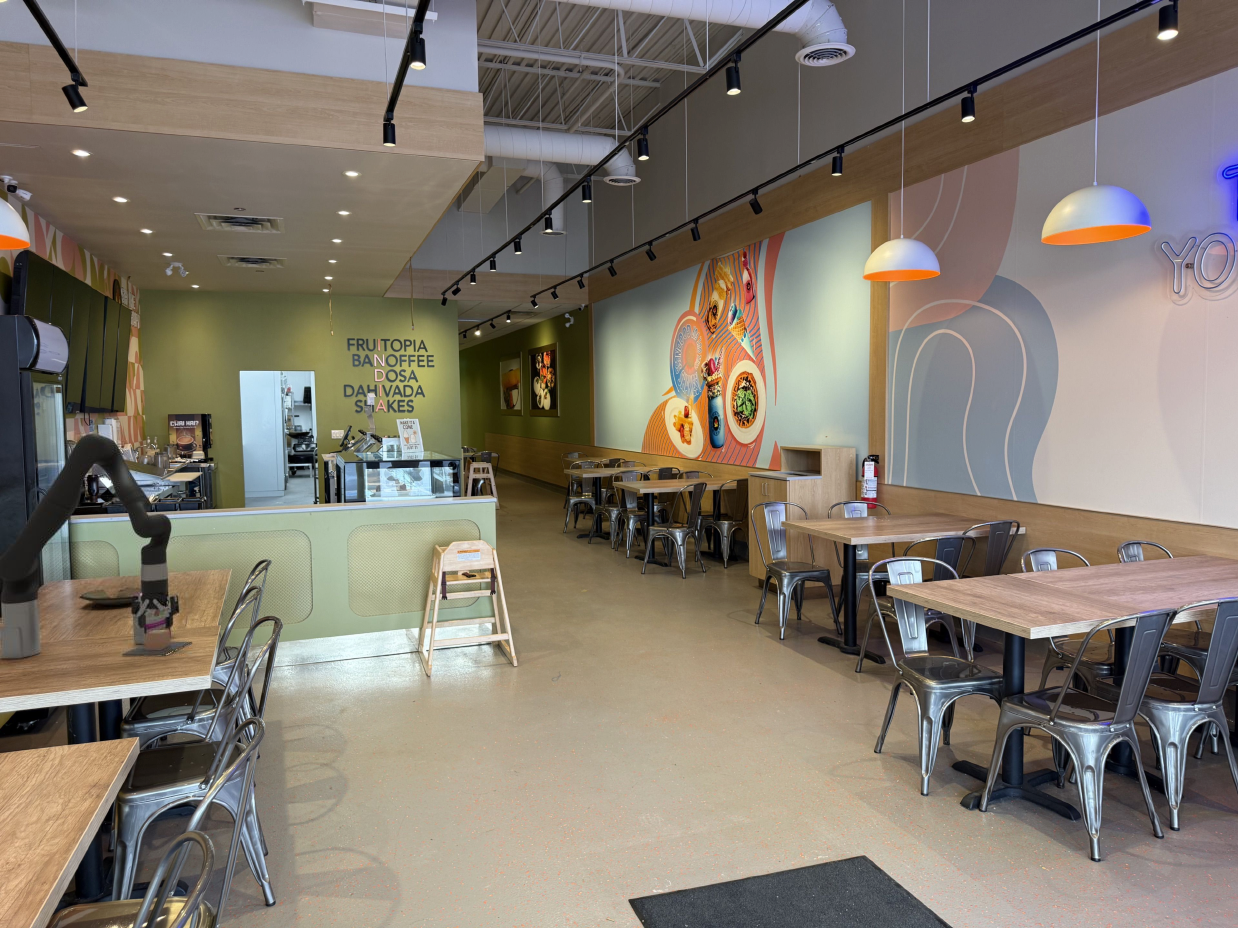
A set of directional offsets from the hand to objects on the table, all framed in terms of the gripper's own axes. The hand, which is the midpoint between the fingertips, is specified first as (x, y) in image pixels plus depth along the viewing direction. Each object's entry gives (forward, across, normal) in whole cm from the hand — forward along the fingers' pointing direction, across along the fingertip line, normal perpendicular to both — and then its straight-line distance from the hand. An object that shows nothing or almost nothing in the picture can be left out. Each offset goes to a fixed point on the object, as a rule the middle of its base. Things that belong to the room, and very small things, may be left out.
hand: (155, 627), depth 252 cm
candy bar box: (+8, -9, +11) cm, 16 cm away
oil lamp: (+8, -55, +64) cm, 85 cm away
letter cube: (+7, 0, +1) cm, 7 cm away
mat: (+7, 0, 0) cm, 7 cm away
